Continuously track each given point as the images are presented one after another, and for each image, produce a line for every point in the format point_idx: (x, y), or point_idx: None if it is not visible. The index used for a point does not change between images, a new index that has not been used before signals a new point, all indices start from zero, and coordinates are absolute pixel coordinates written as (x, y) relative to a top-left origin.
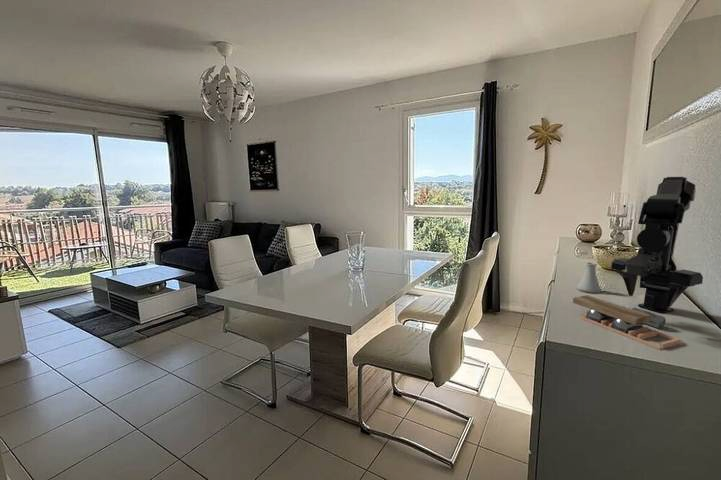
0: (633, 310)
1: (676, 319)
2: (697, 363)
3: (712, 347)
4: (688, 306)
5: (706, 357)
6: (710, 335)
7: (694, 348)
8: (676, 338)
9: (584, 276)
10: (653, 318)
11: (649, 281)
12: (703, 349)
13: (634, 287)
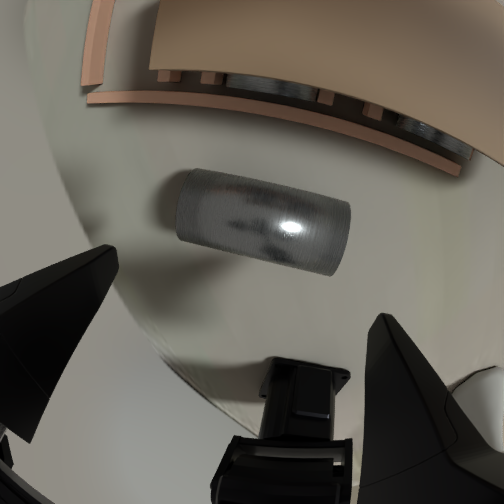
0: (276, 59)
1: (221, 335)
2: (43, 2)
3: (56, 158)
4: (251, 420)
5: (38, 61)
6: None
7: (66, 92)
8: (104, 98)
9: (501, 415)
10: (210, 187)
11: (312, 471)
12: (56, 113)
13: (369, 399)
